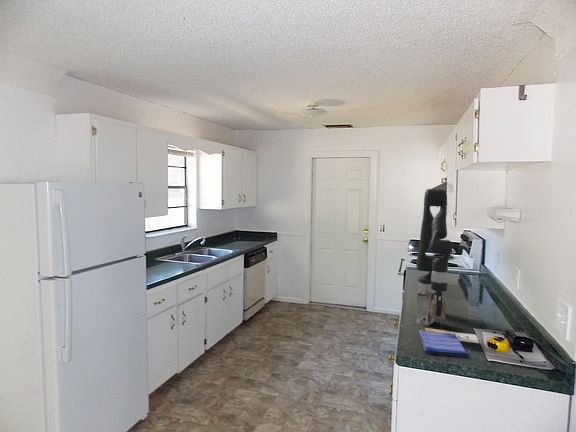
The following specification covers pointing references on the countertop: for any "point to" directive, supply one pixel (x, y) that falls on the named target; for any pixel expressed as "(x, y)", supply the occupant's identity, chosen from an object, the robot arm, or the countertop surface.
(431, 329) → the coaster
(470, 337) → the tile
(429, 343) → the dish towel
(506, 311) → the countertop surface
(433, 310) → the walnut block
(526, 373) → the countertop surface
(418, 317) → the coffee box
